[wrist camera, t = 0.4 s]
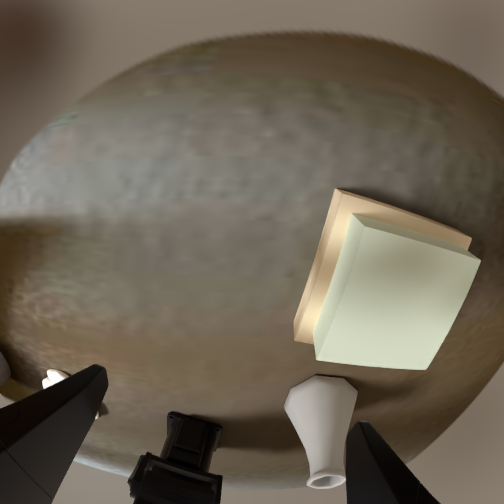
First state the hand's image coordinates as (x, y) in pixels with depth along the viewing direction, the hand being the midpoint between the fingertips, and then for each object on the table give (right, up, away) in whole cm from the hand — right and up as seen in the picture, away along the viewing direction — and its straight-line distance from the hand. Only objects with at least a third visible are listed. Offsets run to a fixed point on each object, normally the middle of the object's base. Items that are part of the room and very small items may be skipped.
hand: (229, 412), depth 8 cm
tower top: (+10, +3, +10) cm, 15 cm away
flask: (+8, -9, +17) cm, 21 cm away
